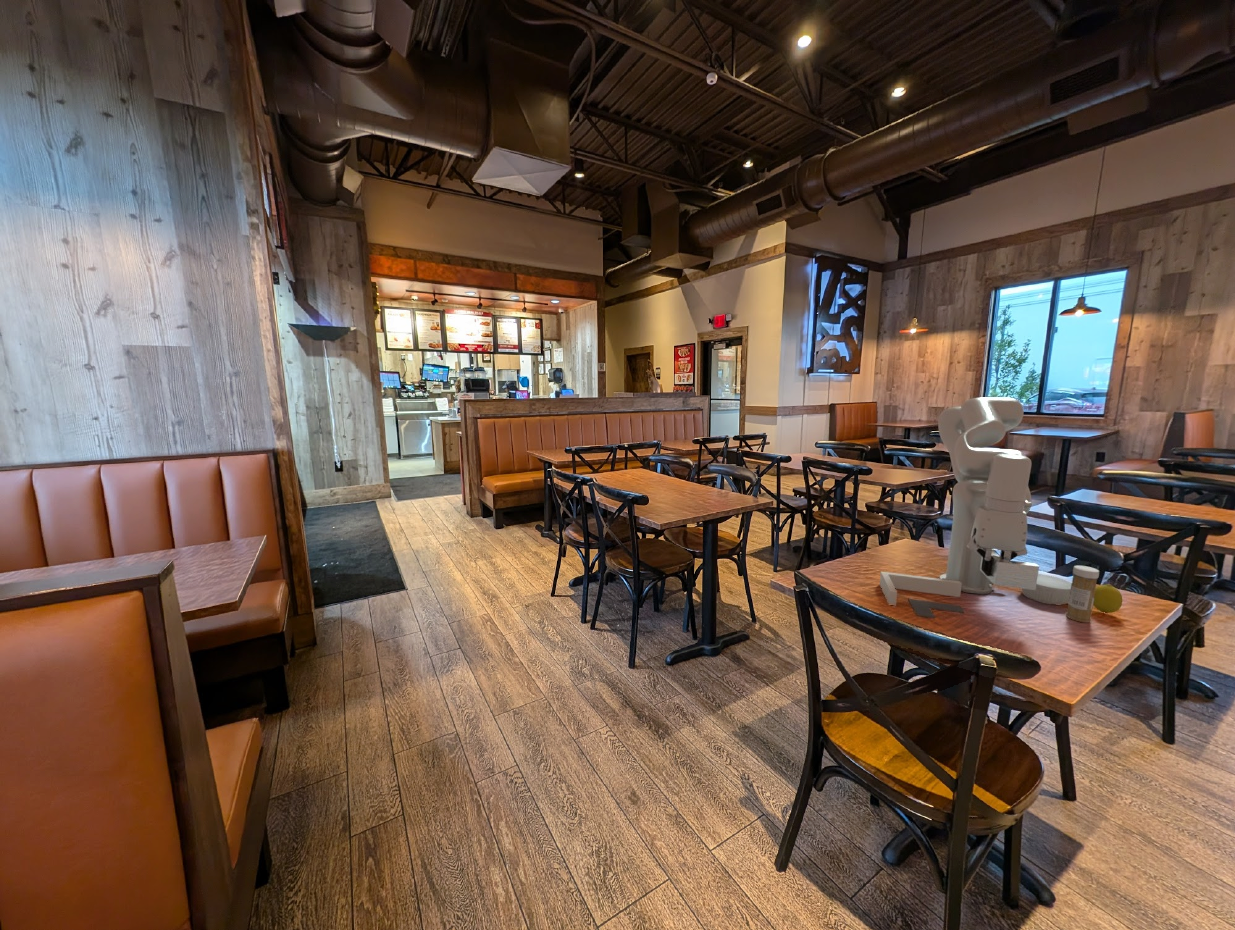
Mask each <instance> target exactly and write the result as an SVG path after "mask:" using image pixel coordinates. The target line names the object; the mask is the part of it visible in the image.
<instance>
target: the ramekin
mask: <svg viewBox="0 0 1235 930" xmlns="http://www.w3.org/2000/svg"><path fill="white" fill-rule="evenodd" d="M1071 584H1072V582H1071V581H1068V580H1066V579H1063V578H1059V577H1056V576H1052V575H1048V574H1041V573H1038V577H1037V583H1036V589H1035V590H1030V589H1022V588H1021V592H1022V594H1023V596H1025V598H1028V599H1030V600H1032V599H1033V601H1035V602H1038V601H1039V602H1038V603H1041V602H1042V603H1043V604H1045V603H1048V604H1047V605H1051V604H1064V605H1066V604H1068V602H1069V595H1070V590H1071Z"/></svg>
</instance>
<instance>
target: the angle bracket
mask: <svg viewBox="0 0 1235 930" xmlns="http://www.w3.org/2000/svg"><path fill="white" fill-rule="evenodd" d="M982 560H983V557H982V558H981V565H980V571H981V572H982V573H983V574H984V575H985V576H986V577H987V578H988V579H989V580H990V581H991V582H992V583H993V584H994V585H993V586H1000V587H1006V588H1007V587H1008V588H1015V589H1021V590H1022V589H1030V590H1035V589H1036V583H1037V577H1038V574H1039V570H1040V565H1038V564H1037V563H1036V562H1035V563H1034V562H1026V561H1017V560H1016V561H1015V560H1010V561H1008V560H1004V559H1003V558H1002V557H1001V556H1000V554H998V552H996V550H993V549H992V554H991V561H992V569H991V575H990V576H987V575H986V574H985V573H984V572H983V571H982V569H981V566H982Z"/></svg>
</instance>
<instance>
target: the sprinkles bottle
mask: <svg viewBox="0 0 1235 930" xmlns="http://www.w3.org/2000/svg"><path fill="white" fill-rule="evenodd" d="M1099 576H1100V570H1099V569H1097V568H1094V567H1090V566H1086V565H1074V566H1073V569H1072V580H1071V583H1072V584H1071V590H1070V595H1069V602H1068V603H1067V605H1068V606H1067V610H1066V611H1067V612H1066V613H1065V616H1066V617H1067V618H1069V619H1071V620H1073V621H1076V622H1079V623H1090V622H1091V620H1092V619H1091V616H1092V612H1093V611H1092V610H1093V607H1094V605H1093V602H1094V594H1095V588H1096V587H1097V580H1098V578H1099Z"/></svg>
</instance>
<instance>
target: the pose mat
mask: <svg viewBox="0 0 1235 930" xmlns="http://www.w3.org/2000/svg"><path fill="white" fill-rule="evenodd" d="M907 600H908V602H909V605H910V606H911V608H912V609H913V612H914V613H915V615H916V616H917V617H924V618H929V619H930V618H931V619H936V616H935V614H934V613H933V611H932V609H933V610H939V611H946V612H952V613H960V614H965V613H966V611H965V610H964V609H963V608H962V607H961V605H960V604H959V605H958V604H951V603H945V602H944V603H943V602H936V601H935V602H934V601H929V600H922V599H916V598H915V599H913V598H907Z"/></svg>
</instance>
